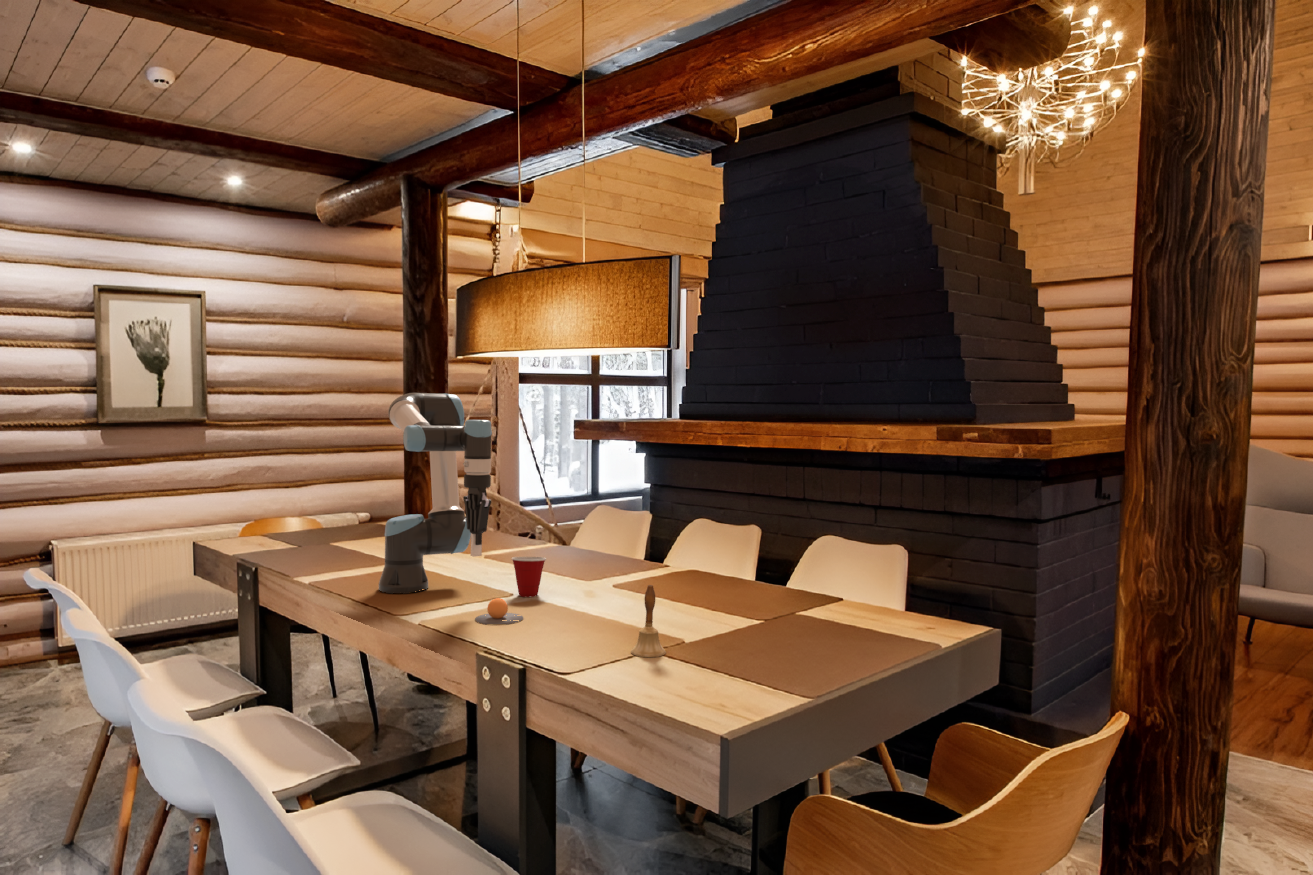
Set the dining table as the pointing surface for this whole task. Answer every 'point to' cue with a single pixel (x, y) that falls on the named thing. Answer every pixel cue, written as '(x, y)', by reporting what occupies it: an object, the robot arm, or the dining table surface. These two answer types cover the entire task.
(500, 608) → the ball
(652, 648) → the hand bell
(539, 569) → the plastic cup
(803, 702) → the dining table surface
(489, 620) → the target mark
